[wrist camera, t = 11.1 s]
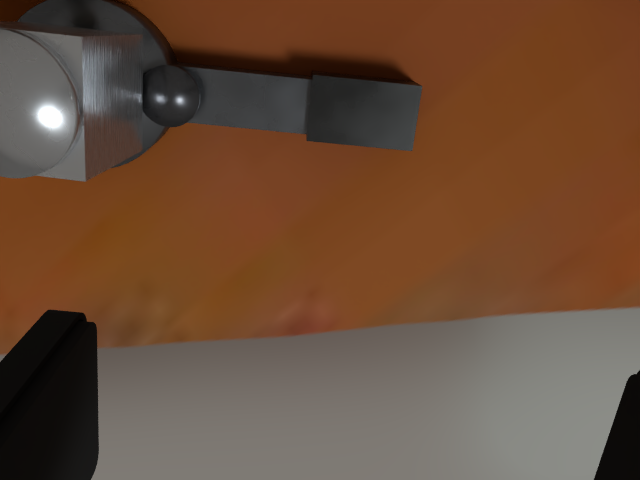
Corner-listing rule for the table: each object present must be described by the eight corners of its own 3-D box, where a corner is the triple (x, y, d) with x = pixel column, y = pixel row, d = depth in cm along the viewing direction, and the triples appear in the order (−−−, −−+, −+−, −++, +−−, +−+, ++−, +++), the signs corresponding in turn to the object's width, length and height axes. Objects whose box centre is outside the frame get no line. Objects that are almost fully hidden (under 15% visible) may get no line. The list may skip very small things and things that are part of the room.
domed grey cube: (142, 34, 31) (72, 37, 24) (142, 150, 33) (77, 186, 26) (28, 21, 31) (-77, 20, 24) (34, 137, 33) (-61, 169, 26)
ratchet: (421, 33, 35) (448, 36, 28) (398, 185, 38) (418, 220, 31) (18, -11, 34) (-52, -18, 27) (28, 150, 37) (-33, 179, 30)
